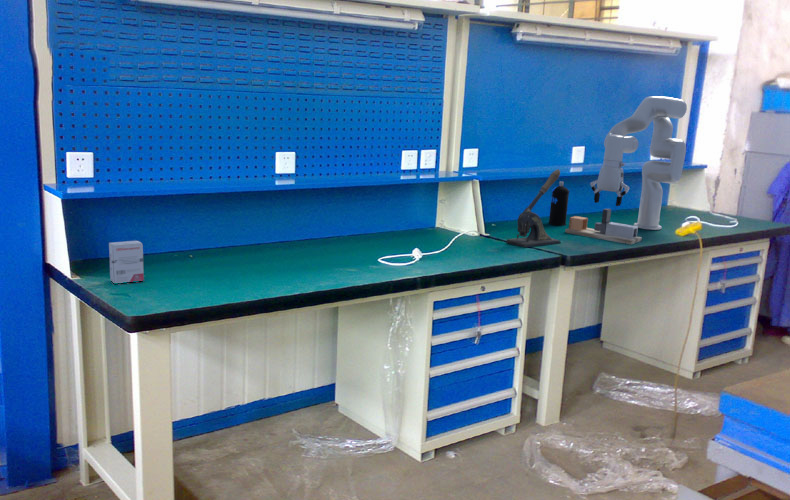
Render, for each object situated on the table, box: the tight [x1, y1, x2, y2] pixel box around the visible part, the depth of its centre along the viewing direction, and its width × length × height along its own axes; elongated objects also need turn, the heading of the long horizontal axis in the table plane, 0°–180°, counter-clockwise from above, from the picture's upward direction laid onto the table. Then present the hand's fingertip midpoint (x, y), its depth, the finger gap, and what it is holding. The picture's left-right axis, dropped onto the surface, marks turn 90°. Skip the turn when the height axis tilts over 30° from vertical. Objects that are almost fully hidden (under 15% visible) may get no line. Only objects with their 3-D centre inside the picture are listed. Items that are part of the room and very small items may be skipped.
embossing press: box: [505, 169, 561, 248], centre depth 294 cm, size 11×24×30 cm, turn 126°
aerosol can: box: [547, 181, 570, 227], centre depth 340 cm, size 8×8×20 cm
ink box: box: [108, 240, 145, 284], centre depth 212 cm, size 9×5×12 cm, turn 124°
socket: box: [568, 215, 589, 231], centre depth 325 cm, size 6×6×5 cm
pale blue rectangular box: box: [605, 221, 639, 239], centre depth 313 cm, size 5×12×5 cm, turn 51°
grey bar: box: [593, 208, 635, 236], centre depth 314 cm, size 4×16×10 cm, turn 51°
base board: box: [565, 227, 643, 245], centre depth 319 cm, size 12×30×2 cm, turn 51°
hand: (607, 204), depth 315 cm, fingers open, 9 cm apart
